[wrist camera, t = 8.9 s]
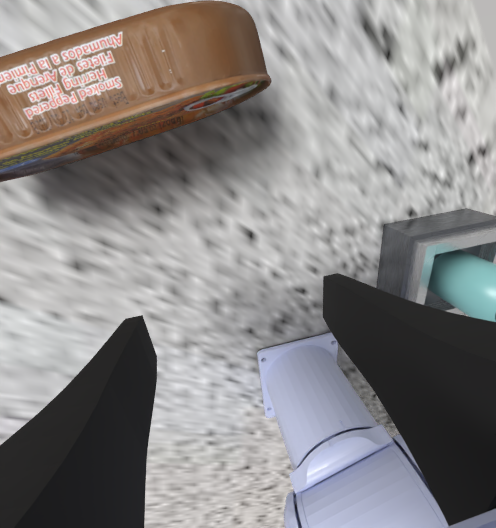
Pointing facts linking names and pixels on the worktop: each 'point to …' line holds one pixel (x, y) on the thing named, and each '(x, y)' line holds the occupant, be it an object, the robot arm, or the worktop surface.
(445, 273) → the teal capped cylinder
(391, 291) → the grey flat square block
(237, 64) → the tin
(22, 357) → the worktop surface
